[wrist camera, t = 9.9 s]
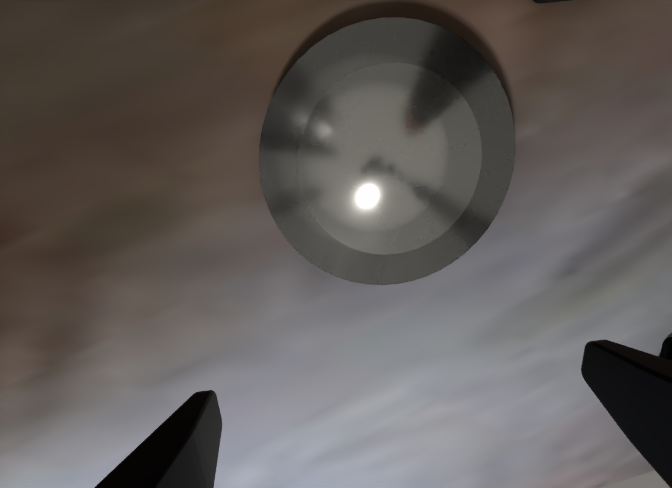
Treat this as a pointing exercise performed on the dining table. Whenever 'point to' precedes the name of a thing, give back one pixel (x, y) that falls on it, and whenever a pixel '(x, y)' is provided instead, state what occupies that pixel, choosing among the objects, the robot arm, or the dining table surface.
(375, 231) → the flange plate
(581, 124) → the dining table surface
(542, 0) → the battery
